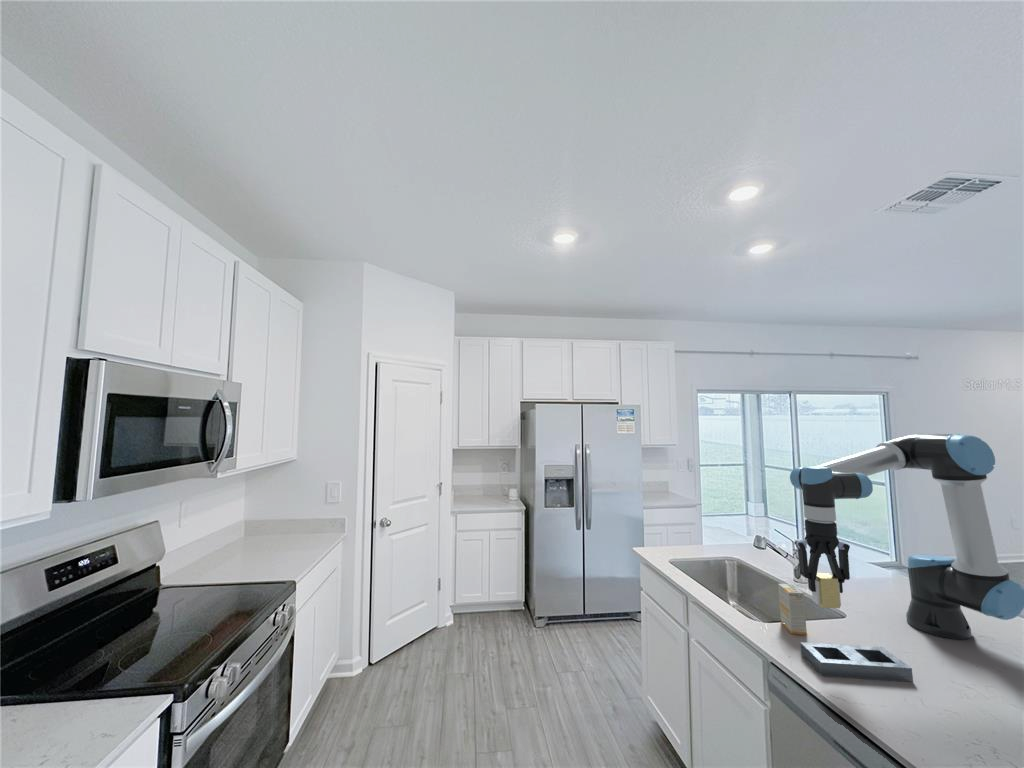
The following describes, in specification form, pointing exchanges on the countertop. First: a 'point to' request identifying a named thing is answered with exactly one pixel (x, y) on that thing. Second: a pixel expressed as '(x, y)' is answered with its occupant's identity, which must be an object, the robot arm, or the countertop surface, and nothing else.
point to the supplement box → (792, 609)
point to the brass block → (828, 590)
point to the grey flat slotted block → (856, 662)
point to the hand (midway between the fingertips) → (826, 603)
